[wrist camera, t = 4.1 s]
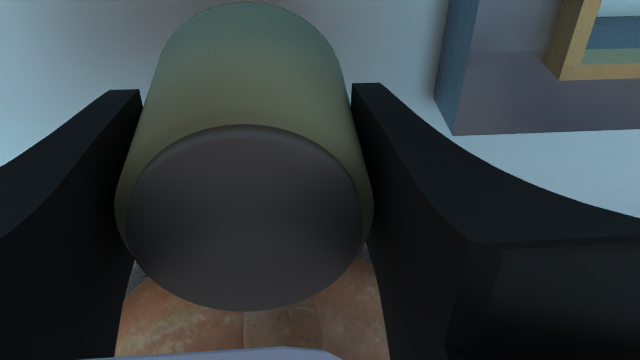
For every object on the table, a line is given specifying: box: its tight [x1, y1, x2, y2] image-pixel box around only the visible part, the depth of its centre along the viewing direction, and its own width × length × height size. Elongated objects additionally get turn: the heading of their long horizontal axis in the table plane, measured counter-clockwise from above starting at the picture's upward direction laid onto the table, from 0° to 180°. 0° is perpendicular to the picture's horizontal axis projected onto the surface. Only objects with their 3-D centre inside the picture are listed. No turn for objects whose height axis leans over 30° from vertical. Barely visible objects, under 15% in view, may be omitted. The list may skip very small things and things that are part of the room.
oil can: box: [114, 2, 374, 312], centre depth 11 cm, size 4×4×5 cm
